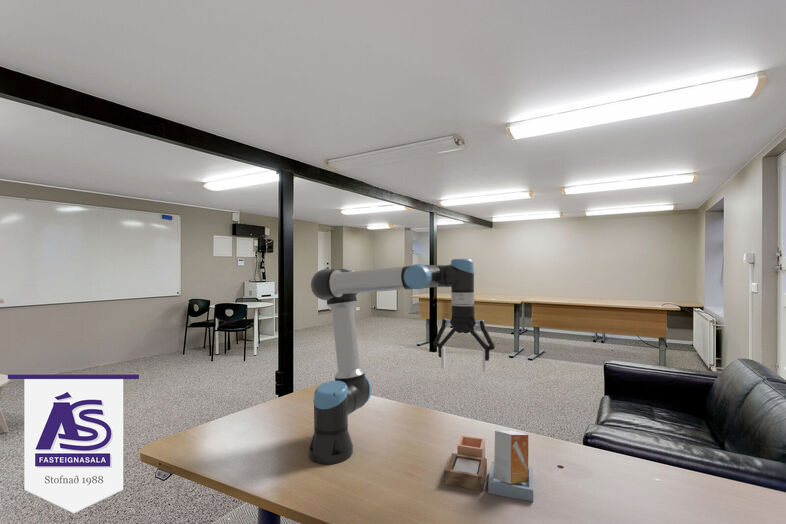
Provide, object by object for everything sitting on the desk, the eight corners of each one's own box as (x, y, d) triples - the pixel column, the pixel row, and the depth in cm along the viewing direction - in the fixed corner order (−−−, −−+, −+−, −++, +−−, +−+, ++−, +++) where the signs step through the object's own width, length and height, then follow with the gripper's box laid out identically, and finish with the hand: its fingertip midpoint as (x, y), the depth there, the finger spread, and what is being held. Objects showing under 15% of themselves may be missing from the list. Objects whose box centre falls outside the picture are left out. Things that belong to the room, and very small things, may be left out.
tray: (488, 493, 105) (488, 482, 105) (491, 471, 117) (491, 461, 117) (533, 501, 101) (533, 490, 101) (532, 478, 113) (532, 468, 113)
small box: (511, 484, 104) (511, 434, 107) (493, 478, 109) (494, 430, 112) (529, 482, 108) (529, 434, 111) (511, 476, 113) (511, 430, 116)
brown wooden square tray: (445, 483, 110) (445, 470, 110) (452, 465, 120) (452, 453, 121) (483, 491, 106) (483, 476, 106) (486, 471, 117) (486, 458, 117)
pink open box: (457, 464, 121) (457, 445, 121) (461, 452, 129) (461, 435, 129) (482, 468, 119) (482, 449, 119) (485, 456, 126) (484, 438, 126)
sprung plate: (452, 474, 111) (452, 470, 111) (457, 461, 118) (457, 457, 118) (476, 479, 109) (476, 474, 109) (479, 465, 116) (479, 461, 116)
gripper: (423, 305, 124) (424, 368, 124) (500, 306, 116) (501, 375, 116) (429, 303, 132) (429, 363, 131) (502, 304, 123) (503, 368, 123)
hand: (463, 368), depth 123 cm, fingers open, 13 cm apart
